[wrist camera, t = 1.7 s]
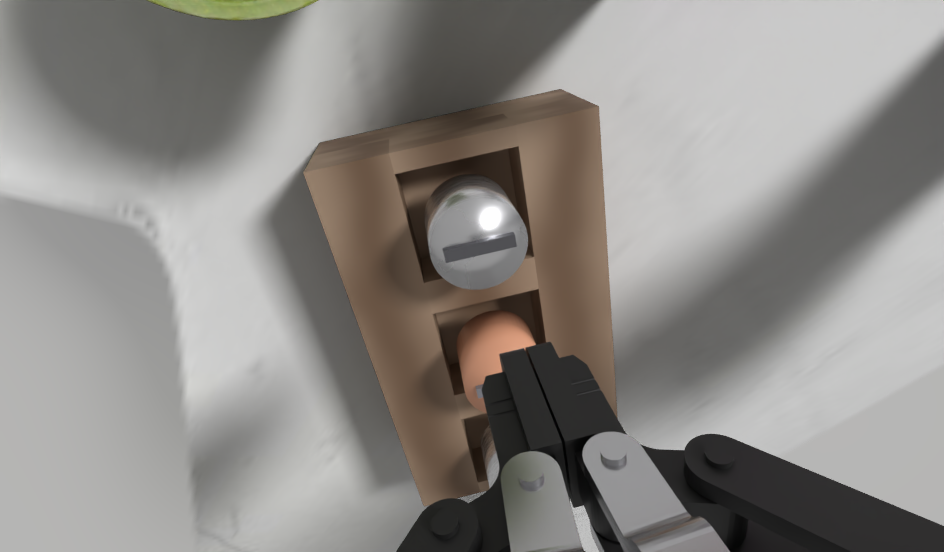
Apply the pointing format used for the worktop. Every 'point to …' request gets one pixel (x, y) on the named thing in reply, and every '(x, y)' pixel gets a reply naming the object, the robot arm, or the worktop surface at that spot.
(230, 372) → the worktop surface
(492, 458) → the metal knob
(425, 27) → the worktop surface
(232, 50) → the worktop surface
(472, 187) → the metal knob
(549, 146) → the console
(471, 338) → the terracotta knob
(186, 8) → the plant pot
